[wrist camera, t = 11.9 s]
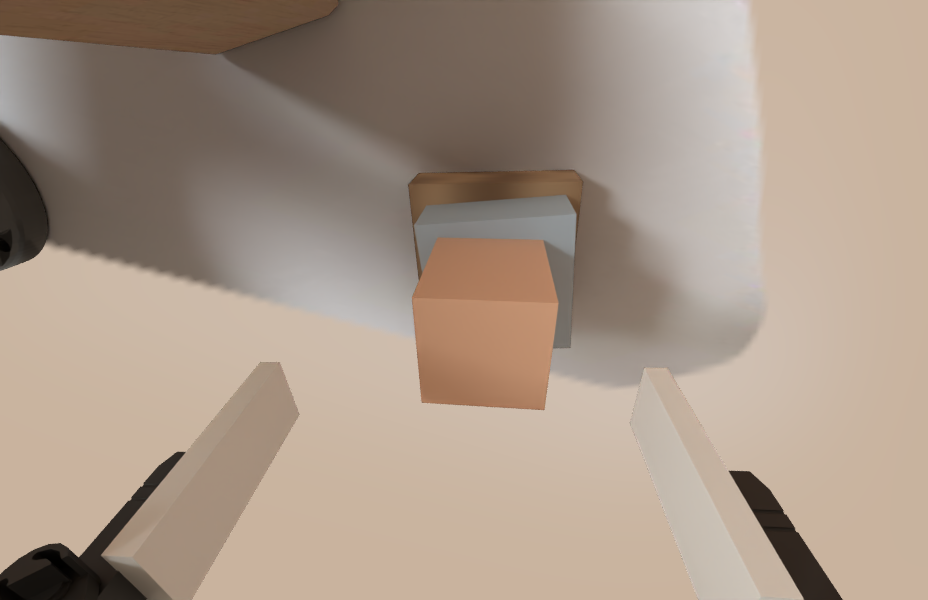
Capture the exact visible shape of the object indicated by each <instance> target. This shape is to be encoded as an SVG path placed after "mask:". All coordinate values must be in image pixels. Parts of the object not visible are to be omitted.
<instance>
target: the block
mask: <svg viewBox="0 0 928 600" xmlns="http://www.w3.org/2000/svg"><path fill="white" fill-rule="evenodd" d="M337 6H338V0H0V35H8V36H19V37H30V38H41V39H52V40H63V41H74V42H85V43H96V44H107V45H118V46H128V47H139V48H150V49H161V50H172V51H183V52H194V53H205V54H219V53H221V52H224V51H227V50H230V49H233V48H236V47H239V46H242V45H244V44H247V43H250V42H253V41H256V40H259V39H262V38H264V37H267V36H270V35H273V34H276V33H279V32H282V31H285V30H287V29H290V28H293V27H296V26H299V25H302V24H305V23H308V22H310V21H313V20H316V19H319V18H322V17H325V16H328V15H329V14H330V13H331V12H332V11H333V10H334V9H335V8H336V7H337Z"/></svg>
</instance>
